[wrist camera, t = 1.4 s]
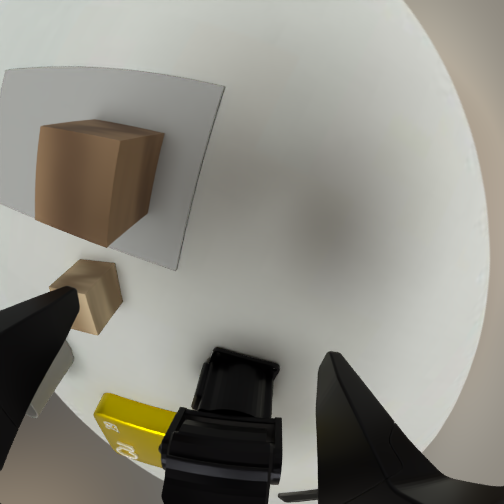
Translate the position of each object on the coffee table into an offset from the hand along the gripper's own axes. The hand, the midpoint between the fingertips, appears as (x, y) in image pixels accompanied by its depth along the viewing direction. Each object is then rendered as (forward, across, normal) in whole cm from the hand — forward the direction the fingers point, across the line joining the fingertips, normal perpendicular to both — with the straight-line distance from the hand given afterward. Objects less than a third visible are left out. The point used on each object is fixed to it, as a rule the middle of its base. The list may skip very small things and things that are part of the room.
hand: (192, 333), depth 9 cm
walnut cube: (+12, +9, -2) cm, 15 cm away
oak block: (+12, +11, +9) cm, 19 cm away
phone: (+13, -27, +58) cm, 65 cm away
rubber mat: (+12, +15, -3) cm, 19 cm away
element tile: (+13, +6, +35) cm, 38 cm away
